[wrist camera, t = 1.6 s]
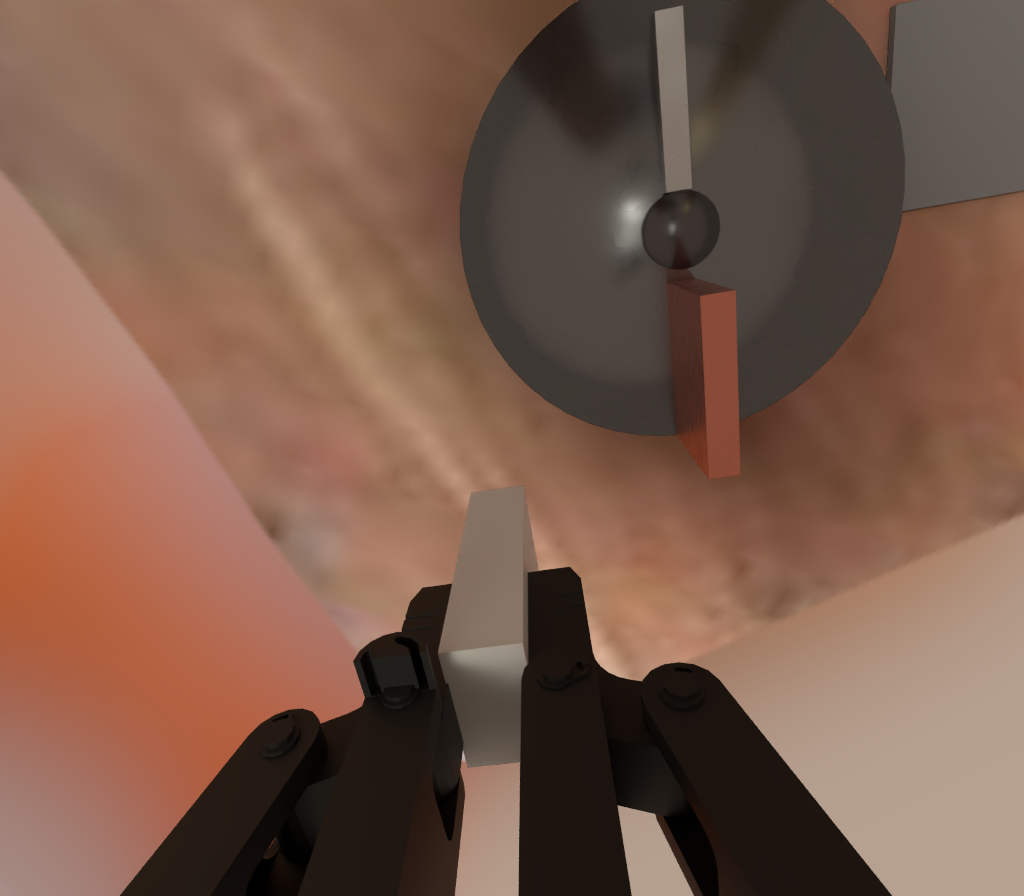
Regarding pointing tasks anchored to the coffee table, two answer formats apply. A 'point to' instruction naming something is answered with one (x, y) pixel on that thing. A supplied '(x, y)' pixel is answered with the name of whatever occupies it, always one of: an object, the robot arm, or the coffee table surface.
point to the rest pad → (958, 97)
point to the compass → (682, 210)
